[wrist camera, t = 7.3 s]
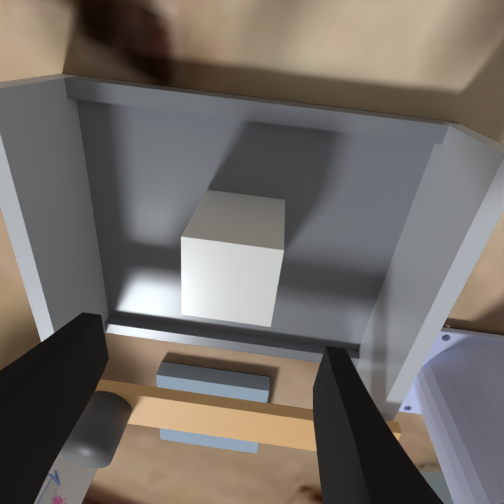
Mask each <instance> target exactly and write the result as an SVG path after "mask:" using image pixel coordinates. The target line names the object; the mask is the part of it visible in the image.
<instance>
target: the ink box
mask: <svg viewBox="0 0 504 504" xmlns="http://www.w3.org/2000/svg"><path fill="white" fill-rule="evenodd" d="M96 470H97V468H87V467H83V466H80V465H77V464H75V463H73V462H71V461H69V460H68V459H66V458H65V457H64V456H63V455H62V454H61V452H60V453H59V454H58V456H57V458H56V460H55V461H54V463H53V465H52V467H51V469H50V471H49V473H48V475H47V477H46V479H45V481H44V483H43V485H42V488H41V490H40V492H39V494H38V496H37V498H36V500H35V503H34V504H81V503H82V501H83V499H84V496H85V494H86V492H87V490H88V488H89V486H90V483H91V481H92V479H93V477H94V475H95V472H96Z"/></svg>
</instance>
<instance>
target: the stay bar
mask: <svg viewBox="0 0 504 504" xmlns="http://www.w3.org/2000/svg"><path fill="white" fill-rule="evenodd" d="M385 421H386V423H387V425H388V426H389V428H390V429H391V431H392V432H393V434H394V436H395V437H396V439H397V440H398V439H399V438H400V436H401V434H402V433H401V429H400V426H399V423H398V422H395V421H388V420H385ZM127 423H129V424H136V425H143V426H150V427H156V428H163V429H170V430H177V431H184V432H190V433H197V434H204V435H211V436H217V437H224V438H231V439H238V440H245V441H251V442H258V443H265V444H272V445H279V446H285V447H292V448H299V449H306V450H312V451H317V448H316V440H315V431H314V422H313V410H312V409H305V408H298V407H291V406H284V405H277V404H270V403H263V402H256V401H249V400H243V399H236V398H229V397H222V396H215V395H208V394H201V393H194V392H187V391H180V390H173V389H166V388H159V387H153V386H146V385H139V384H132V383H125V382H118V381H111V380H104V379H100V381H99V383H98V385H97V388H96V390H95V391H94V393H93V395H92V397H91V399H90V400H89V402H88V404H87V406H86V407H85V409H84V411H83V413H82V414H81V416H80V418H79V420H78V421H77V423H76V425H75V427H74V428H73V430H72V432H71V434H70V435H69V437H68V439H67V440H66V442H65V444H64V446H63V447H62V449H61V451H60V452H61V454H62V455H63V456H64V457H65V458H66V459H68V460H69V461H71V462H73V463H75V464H77V465H80V466H83V467H87V468H103V467H106V466H108V465H109V464H110V463H111V461H112V458H113V456H114V454H115V451H116V449H117V447H118V444H119V442H120V440H121V437H122V435H123V432H124V430H125V428H126V425H127Z"/></svg>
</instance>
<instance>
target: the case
mask: <svg viewBox="0 0 504 504" xmlns="http://www.w3.org/2000/svg"><path fill="white" fill-rule="evenodd" d="M206 190H214V191H222V192H229V193H237V194H245V195H252V196H260V197H268V198H276V199H283V200H285V228H284V253H283V259H282V265H281V270H280V276H279V282H278V287H277V293H276V299H275V305H274V310H273V316H272V322H271V327H267V326H260V325H253V324H246V323H238V322H231V321H224V320H217V319H210V318H202V317H195V316H188V315H182V304H181V236H182V234H183V232H184V230H185V228H186V227H187V225H188V223H189V221H190V219H191V218H192V216H193V214H194V212H195V210H196V209H197V207H198V205H199V203H200V201H201V200H202V198H203V196H204V194H205V192H206ZM0 207H1V210H2V214H3V217H4V220H5V224H6V227H7V230H8V233H9V237H10V240H11V243H12V247H13V250H14V253H15V257H16V260H17V263H18V267H19V270H20V273H21V276H22V280H23V283H24V286H25V290H26V293H27V296H28V300H29V303H30V306H31V309H32V313H33V316H34V319H35V323H36V326H37V329H38V333H39V336H40V339H41V342H42V341H44V340H45V339H46V338H48V337H49V336H51V335H52V334H53V333H55V332H56V331H57V330H59V329H60V328H61V327H63V326H64V325H66V324H67V323H68V322H70V321H71V320H72V319H74V318H75V317H77V316H78V315H79V314H81V313H82V312H85V313H92V314H99V315H101V317H102V323H103V328H104V334H105V333H113V334H120V335H127V336H134V337H141V338H148V339H156V340H163V341H170V342H177V343H184V344H191V345H198V346H205V347H212V348H219V349H226V350H233V351H241V352H248V353H255V354H262V355H269V356H276V357H283V358H290V359H297V360H304V361H311V362H319V363H321V360H322V356H323V353H324V350H325V346H330V347H337V348H345V349H346V351H347V352H348V354H349V356H350V358H351V360H352V362H353V364H354V366H355V368H357V372H358V374H359V376H360V378H361V380H362V381H363V383H364V385H365V387H366V389H367V391H368V392H369V394H370V396H371V398H372V399H373V401H374V403H375V405H376V406H377V408H378V410H379V411H380V413H381V415H382V416H383V418H384V420H388V421H393V420H394V418H395V416H396V414H397V412H398V410H399V408H400V407H401V405H402V403H403V401H404V399H405V397H406V395H407V393H408V391H409V389H410V388H411V386H412V384H413V382H414V380H415V378H416V376H417V374H418V372H419V370H420V369H421V367H422V365H423V363H424V361H425V359H426V357H427V355H428V353H429V351H430V350H431V348H432V346H433V344H434V342H435V340H436V338H437V336H438V334H439V332H440V331H441V329H442V327H443V325H444V323H445V321H446V319H447V317H448V315H449V313H450V312H451V310H452V308H453V306H454V304H455V302H456V300H457V298H458V296H459V294H460V293H461V291H462V289H463V287H464V285H465V283H466V281H467V279H468V277H469V275H470V274H471V272H472V270H473V268H474V266H475V264H476V262H477V260H478V258H479V256H480V255H481V253H482V251H483V249H484V247H485V245H486V243H487V241H488V239H489V237H490V236H491V234H492V232H493V230H494V228H495V226H496V224H497V222H498V220H499V218H500V217H501V215H502V213H503V211H504V145H503V144H501V143H499V142H497V141H495V140H493V139H490V138H488V137H486V136H484V135H482V134H480V133H478V132H476V131H474V130H472V129H470V128H468V127H465V126H463V125H461V124H459V123H457V122H451V121H443V120H435V119H426V118H418V117H410V116H402V115H394V114H386V113H378V112H370V111H361V110H353V109H345V108H337V107H329V106H321V105H313V104H305V103H296V102H288V101H280V100H272V99H264V98H256V97H248V96H240V95H231V94H223V93H215V92H207V91H199V90H191V89H183V88H175V87H167V86H158V85H150V84H142V83H134V82H126V81H118V80H110V79H102V78H93V77H85V76H77V75H69V74H55V75H48V76H40V77H33V78H26V79H19V80H12V81H5V82H0Z"/></svg>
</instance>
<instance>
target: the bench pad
mask: <svg viewBox="0 0 504 504" xmlns="http://www.w3.org/2000/svg"><path fill="white" fill-rule="evenodd" d="M156 378H157V387H159V388H166V389H173V390H180V391H187V392H194V393H201V394H208V395H215V396H222V397H229V398H236V399H243V400H249V401H256V402H263V403H267V399H268V394H269V384H270V377H267V376H260V375H253V374H246V373H239V372H232V371H225V370H217V369H210V368H203V367H196V366H189V365H182V364H175V363H168V362H161V364H160V367H159V369H158V372H157V374H156ZM160 439H162V440H169V441H176V442H183V443H189V444H196V445H203V446H210V447H216V448H223V449H230V450H237V451H243V452H250V453H257V450H258V445H259V443H258V442H251V441H245V440H238V439H231V438H224V437H217V436H211V435H204V434H197V433H190V432H184V431H177V430H170V429H163V428H160Z"/></svg>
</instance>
